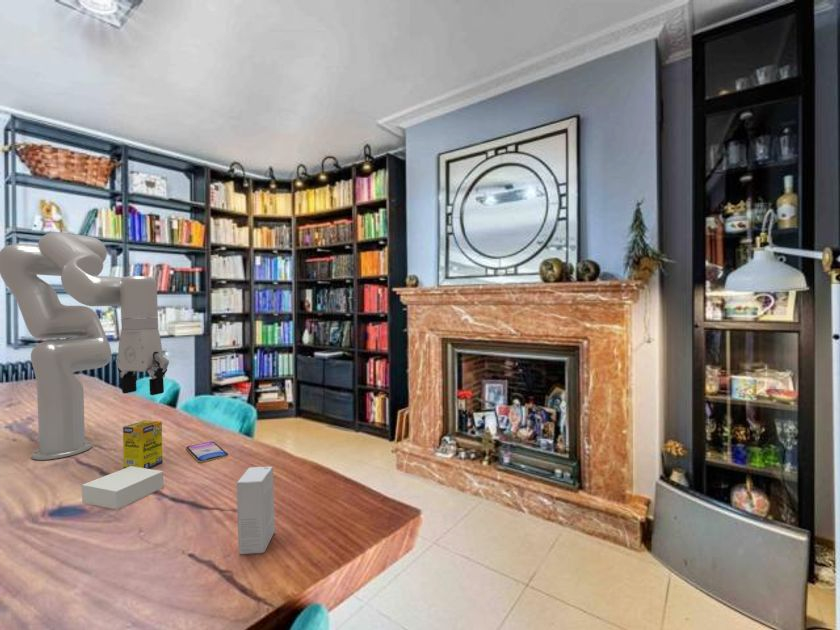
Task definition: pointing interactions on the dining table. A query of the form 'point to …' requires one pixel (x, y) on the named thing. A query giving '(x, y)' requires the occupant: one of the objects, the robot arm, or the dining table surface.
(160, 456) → the supplement box
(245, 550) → the skincare box
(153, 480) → the white square block
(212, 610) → the dining table surface
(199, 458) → the smartphone
